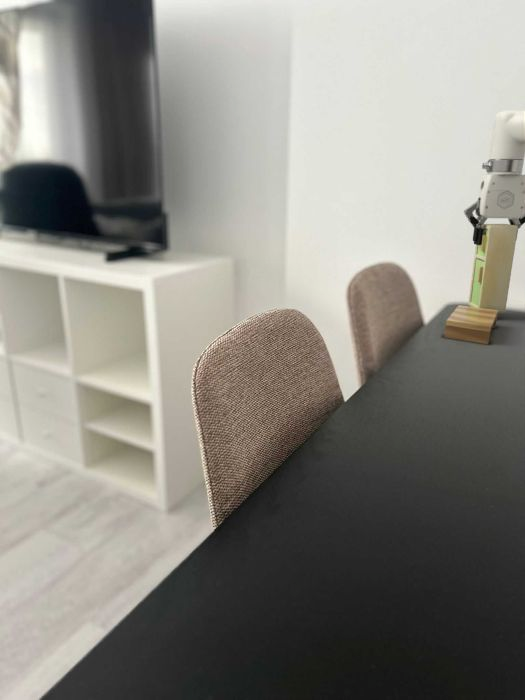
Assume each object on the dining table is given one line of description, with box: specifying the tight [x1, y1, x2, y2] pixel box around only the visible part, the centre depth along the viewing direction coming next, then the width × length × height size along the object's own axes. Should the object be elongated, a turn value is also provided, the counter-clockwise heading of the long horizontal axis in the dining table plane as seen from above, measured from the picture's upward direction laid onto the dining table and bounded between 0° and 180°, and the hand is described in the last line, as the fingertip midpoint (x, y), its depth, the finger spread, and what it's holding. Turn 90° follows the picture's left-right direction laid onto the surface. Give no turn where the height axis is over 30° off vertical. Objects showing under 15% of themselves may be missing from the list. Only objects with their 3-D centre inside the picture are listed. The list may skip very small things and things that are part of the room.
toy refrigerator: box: [468, 223, 519, 313], centre depth 128 cm, size 8×7×21 cm
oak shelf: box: [443, 304, 499, 345], centre depth 117 cm, size 16×9×4 cm, turn 151°
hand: (493, 244), depth 126 cm, fingers closed on toy refrigerator, 7 cm apart
